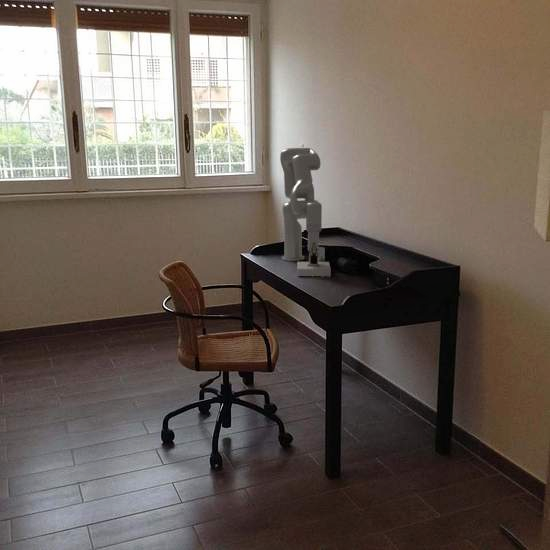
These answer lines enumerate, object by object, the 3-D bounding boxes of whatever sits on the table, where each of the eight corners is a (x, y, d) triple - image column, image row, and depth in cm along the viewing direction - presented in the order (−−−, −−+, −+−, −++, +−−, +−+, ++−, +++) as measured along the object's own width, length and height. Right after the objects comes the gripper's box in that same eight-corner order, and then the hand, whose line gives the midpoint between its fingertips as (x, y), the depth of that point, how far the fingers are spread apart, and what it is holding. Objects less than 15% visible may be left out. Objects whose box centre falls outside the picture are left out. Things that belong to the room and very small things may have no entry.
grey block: (311, 265, 333) (311, 246, 330) (324, 265, 332) (324, 246, 330) (312, 268, 326) (312, 249, 324) (324, 268, 326) (325, 249, 324)
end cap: (336, 270, 322) (336, 257, 320) (349, 269, 323) (350, 256, 322) (343, 274, 312) (343, 261, 311) (356, 274, 314) (356, 260, 312)
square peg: (309, 272, 318) (309, 252, 316) (317, 272, 318) (317, 252, 316) (309, 274, 314) (309, 254, 312) (317, 273, 314) (317, 254, 312)
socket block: (297, 269, 324) (297, 261, 323) (328, 269, 323) (328, 261, 322) (297, 276, 308) (297, 268, 307) (330, 276, 308) (330, 268, 307)
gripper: (305, 224, 319) (305, 258, 323) (306, 230, 302) (306, 265, 306) (320, 224, 319) (320, 258, 323) (322, 230, 302) (321, 265, 306)
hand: (313, 261), depth 314 cm, fingers open, 9 cm apart
